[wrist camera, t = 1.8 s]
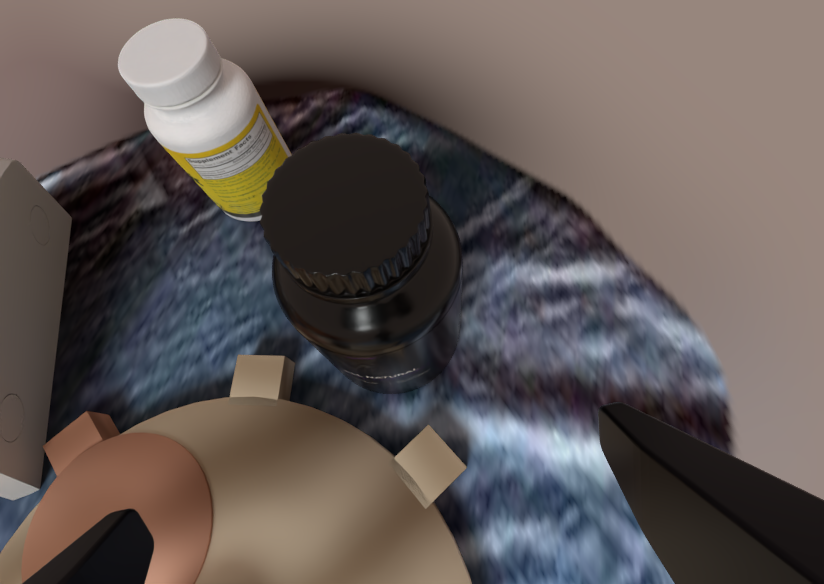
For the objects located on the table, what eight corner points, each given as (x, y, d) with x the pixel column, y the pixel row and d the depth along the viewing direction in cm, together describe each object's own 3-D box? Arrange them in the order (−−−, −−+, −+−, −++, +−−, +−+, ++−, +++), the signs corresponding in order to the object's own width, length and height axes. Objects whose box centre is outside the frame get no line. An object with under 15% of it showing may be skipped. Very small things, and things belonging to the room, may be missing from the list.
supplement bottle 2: (377, 425, 21) (290, 371, 10) (308, 319, 24) (178, 185, 13) (489, 342, 22) (516, 213, 11) (411, 249, 25) (372, 69, 14)
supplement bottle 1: (216, 163, 29) (105, 21, 20) (297, 144, 29) (223, -7, 20) (218, 233, 27) (95, 110, 18) (306, 213, 27) (227, 79, 18)
